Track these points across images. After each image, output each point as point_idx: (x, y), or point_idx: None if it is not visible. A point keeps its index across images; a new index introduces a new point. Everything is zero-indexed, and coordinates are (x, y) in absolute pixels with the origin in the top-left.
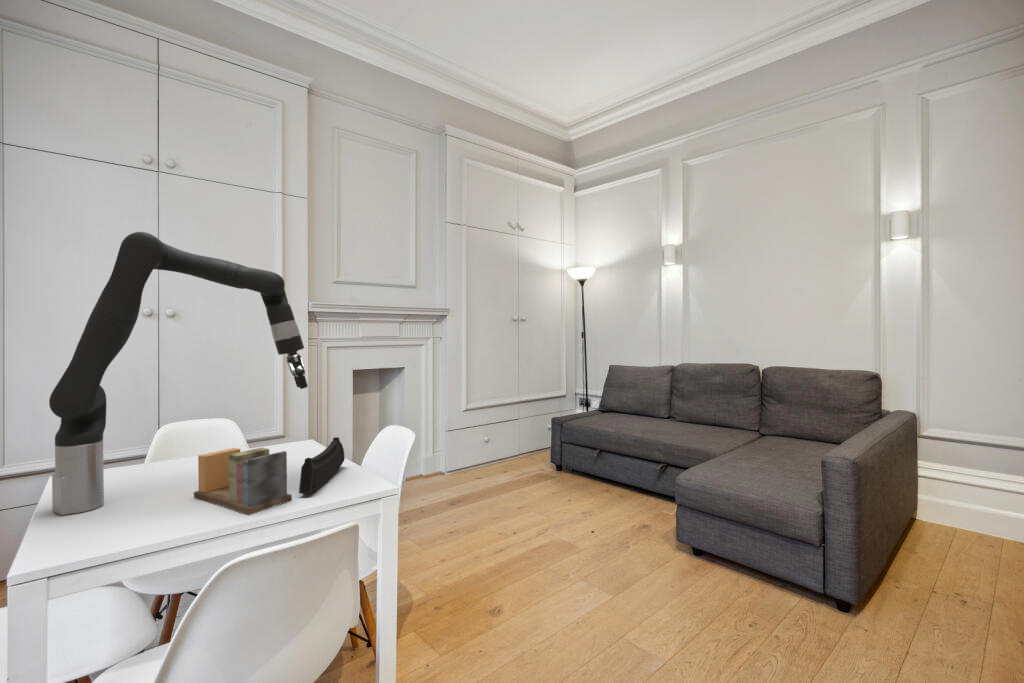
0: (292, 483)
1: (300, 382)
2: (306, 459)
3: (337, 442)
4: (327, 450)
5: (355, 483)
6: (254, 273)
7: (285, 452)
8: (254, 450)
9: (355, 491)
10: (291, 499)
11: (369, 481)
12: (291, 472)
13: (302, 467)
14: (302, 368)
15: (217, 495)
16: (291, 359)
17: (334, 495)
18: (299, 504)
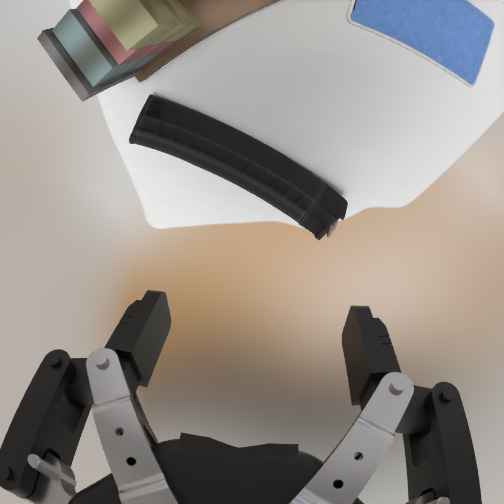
0: (267, 85)
1: (121, 323)
2: (132, 132)
3: (306, 227)
4: (248, 189)
5: (199, 190)
6: None
7: (81, 98)
8: (126, 13)
9: (154, 181)
10: (143, 80)
11: (201, 211)
12: (369, 104)
13: (138, 116)
14: (58, 407)
15: None
16: (8, 462)
17: (144, 148)
18: (119, 93)
